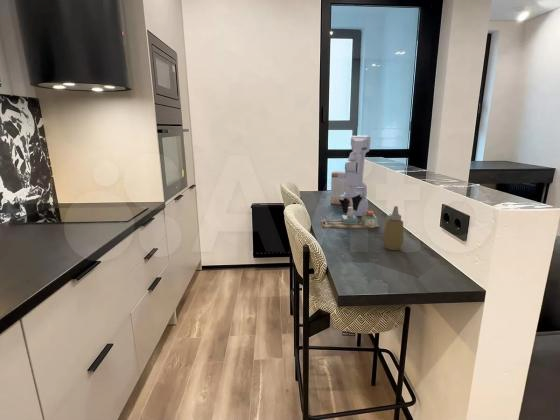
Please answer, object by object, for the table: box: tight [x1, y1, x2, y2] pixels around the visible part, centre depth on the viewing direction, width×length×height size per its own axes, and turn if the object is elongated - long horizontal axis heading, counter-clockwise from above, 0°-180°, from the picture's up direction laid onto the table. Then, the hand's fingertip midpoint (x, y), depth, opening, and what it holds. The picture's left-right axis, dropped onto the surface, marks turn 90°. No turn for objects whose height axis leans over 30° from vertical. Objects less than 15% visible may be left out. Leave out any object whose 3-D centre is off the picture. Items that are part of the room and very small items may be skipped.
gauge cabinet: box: [361, 213, 378, 226], centre depth 166 cm, size 6×8×5 cm
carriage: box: [341, 206, 359, 224], centre depth 166 cm, size 7×7×8 cm
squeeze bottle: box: [382, 205, 405, 251], centre depth 133 cm, size 8×8×18 cm
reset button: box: [365, 210, 375, 217], centre depth 165 cm, size 4×4×4 cm
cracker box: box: [330, 170, 351, 207], centre depth 207 cm, size 14×6×21 cm, turn 58°
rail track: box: [321, 218, 380, 229], centre depth 167 cm, size 28×9×3 cm, turn 87°
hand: (350, 211), depth 165 cm, fingers open, 7 cm apart
